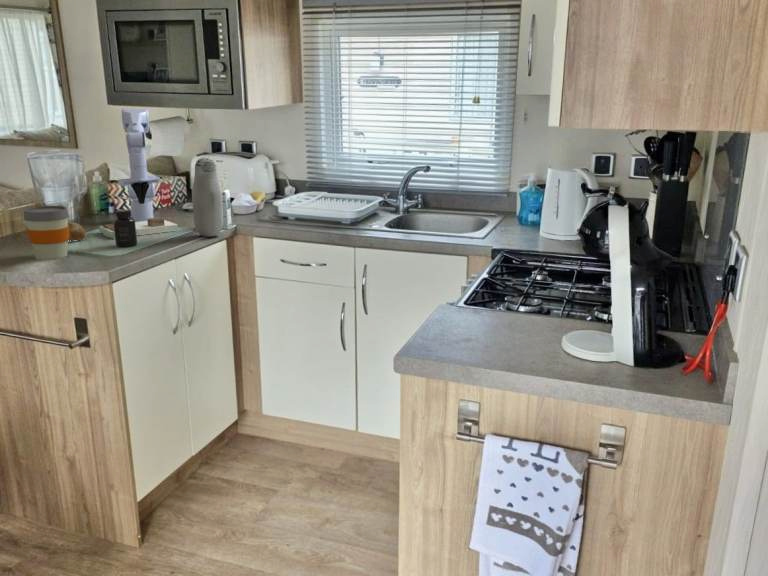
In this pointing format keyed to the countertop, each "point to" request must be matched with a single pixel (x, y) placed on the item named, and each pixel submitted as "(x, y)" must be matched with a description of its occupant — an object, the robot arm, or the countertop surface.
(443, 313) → the countertop surface
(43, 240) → the reusable coffee cup
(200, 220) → the grey bottle
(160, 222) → the tile
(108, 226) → the tile
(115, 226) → the supplement bottle
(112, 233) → the tray
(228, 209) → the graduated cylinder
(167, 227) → the board
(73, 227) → the bread roll
